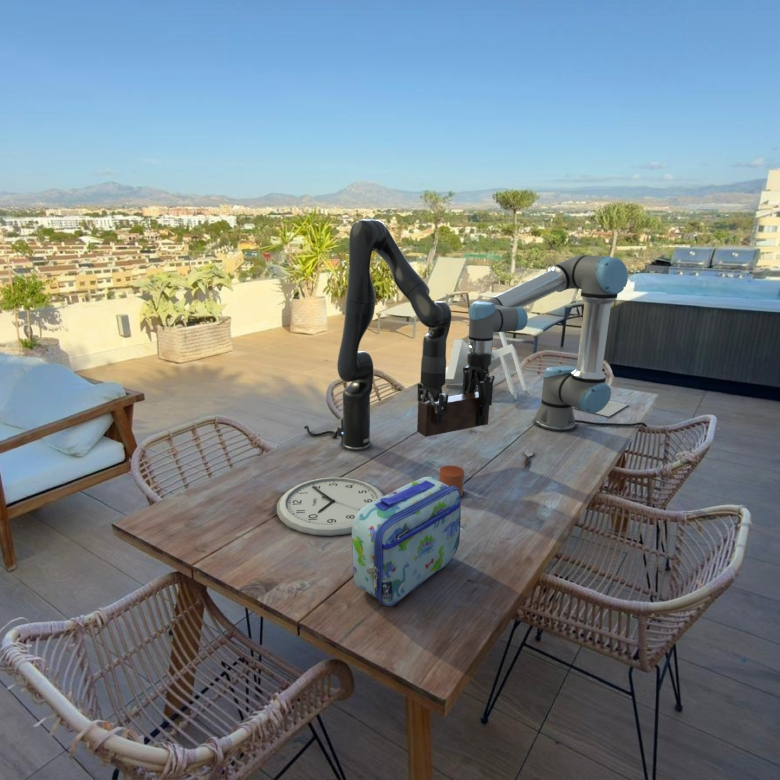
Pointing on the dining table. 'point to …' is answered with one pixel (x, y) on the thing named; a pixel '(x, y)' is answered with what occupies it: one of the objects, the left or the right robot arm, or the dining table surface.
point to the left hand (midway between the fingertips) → (431, 420)
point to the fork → (528, 455)
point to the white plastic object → (498, 356)
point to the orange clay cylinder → (452, 477)
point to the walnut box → (450, 415)
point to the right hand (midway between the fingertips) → (474, 421)
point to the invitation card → (611, 408)
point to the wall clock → (325, 505)
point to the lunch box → (405, 538)
